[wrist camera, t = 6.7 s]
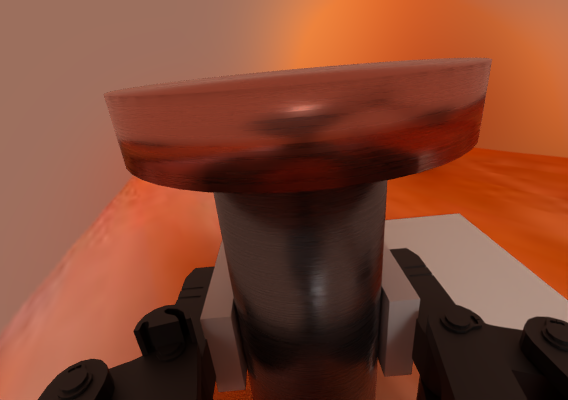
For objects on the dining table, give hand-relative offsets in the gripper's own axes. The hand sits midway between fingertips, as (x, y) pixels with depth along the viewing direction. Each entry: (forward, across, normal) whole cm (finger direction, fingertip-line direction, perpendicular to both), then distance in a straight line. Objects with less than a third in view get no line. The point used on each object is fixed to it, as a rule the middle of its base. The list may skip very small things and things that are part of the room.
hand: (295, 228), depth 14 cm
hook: (+3, 0, -7) cm, 8 cm away
